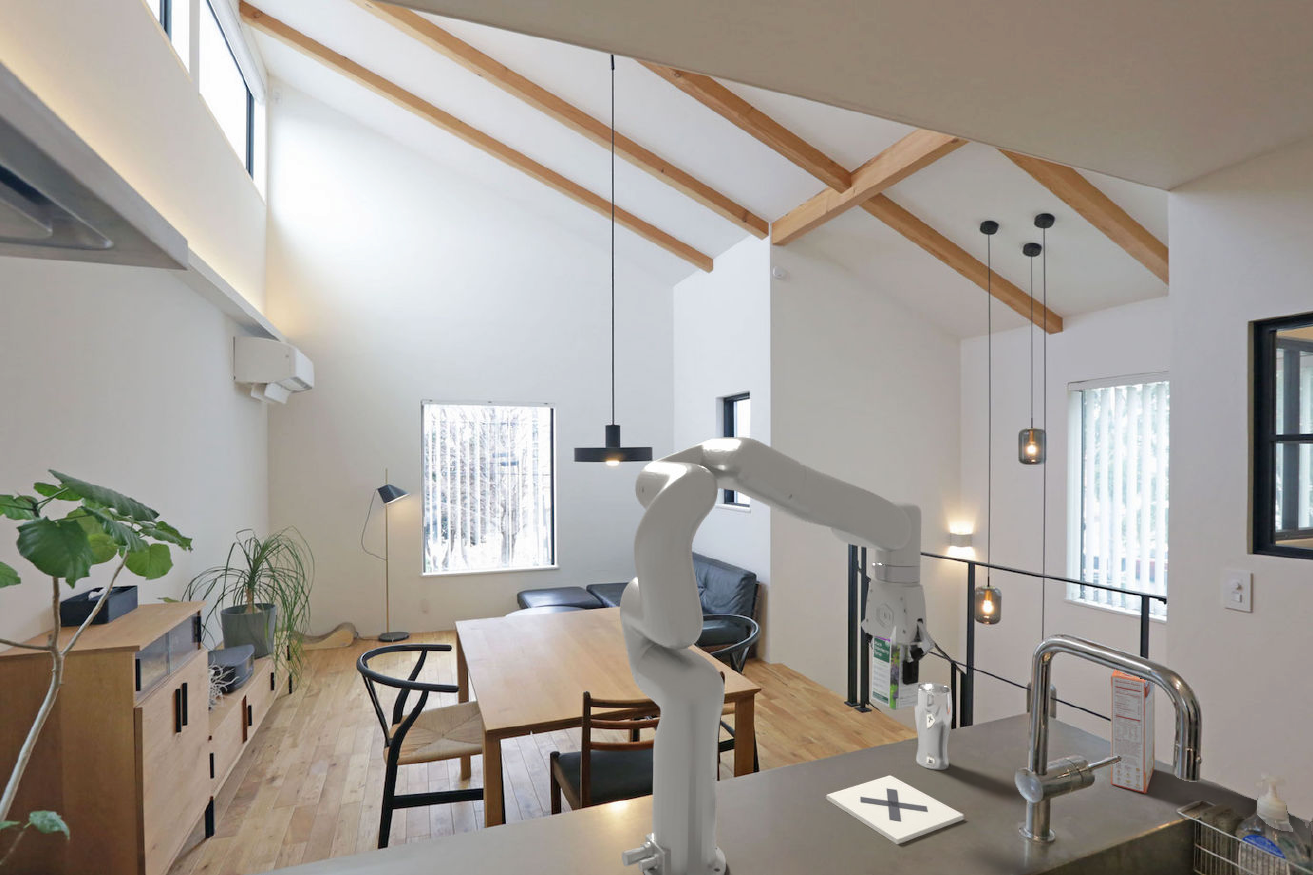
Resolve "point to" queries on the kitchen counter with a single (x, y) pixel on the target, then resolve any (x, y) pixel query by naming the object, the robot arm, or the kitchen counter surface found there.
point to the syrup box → (891, 674)
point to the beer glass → (933, 724)
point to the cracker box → (1132, 731)
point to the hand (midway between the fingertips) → (895, 676)
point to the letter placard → (894, 808)
